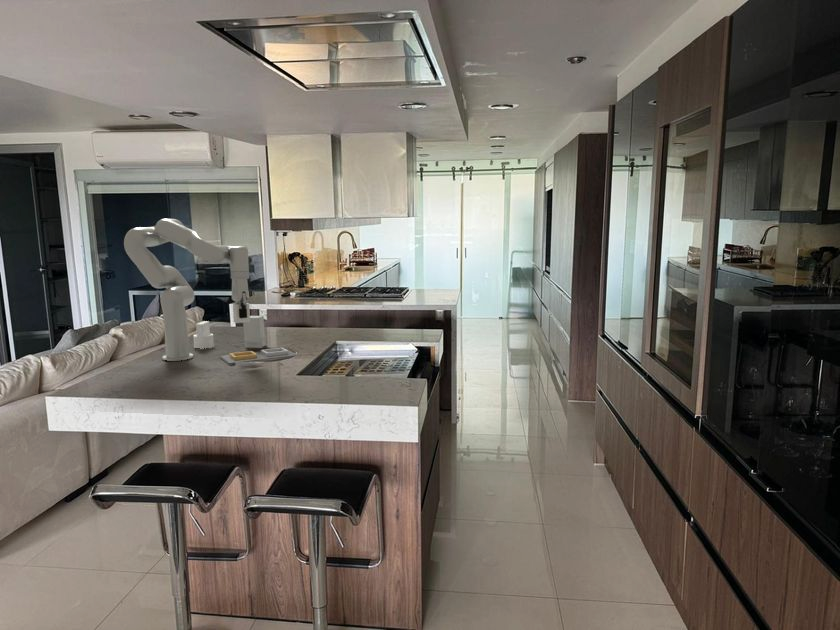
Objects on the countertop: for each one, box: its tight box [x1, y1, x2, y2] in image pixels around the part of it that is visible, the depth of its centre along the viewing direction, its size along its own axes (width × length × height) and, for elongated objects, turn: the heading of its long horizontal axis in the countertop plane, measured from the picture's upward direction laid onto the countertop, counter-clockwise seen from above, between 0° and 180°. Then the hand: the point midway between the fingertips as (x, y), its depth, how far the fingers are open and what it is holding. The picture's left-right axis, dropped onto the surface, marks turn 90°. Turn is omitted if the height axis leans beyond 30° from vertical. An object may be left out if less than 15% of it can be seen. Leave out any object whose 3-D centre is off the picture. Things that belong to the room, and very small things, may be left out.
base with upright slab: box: [193, 320, 215, 350], centre depth 276 cm, size 9×9×12 cm
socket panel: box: [219, 347, 298, 366], centre depth 255 cm, size 16×30×2 cm, turn 122°
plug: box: [232, 302, 251, 324], centre depth 248 cm, size 4×6×9 cm, turn 122°
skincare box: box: [242, 315, 266, 349], centre depth 273 cm, size 8×7×16 cm
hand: (241, 316), depth 248 cm, fingers closed on plug, 4 cm apart
